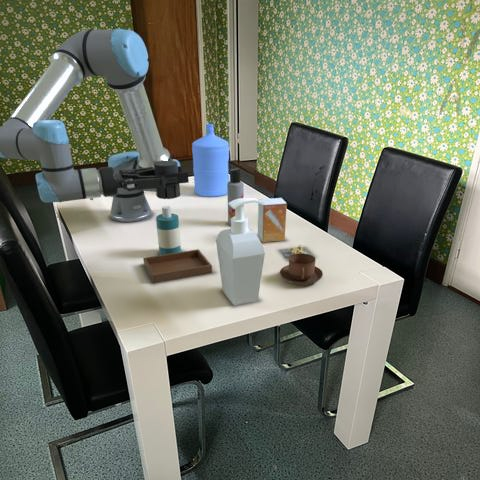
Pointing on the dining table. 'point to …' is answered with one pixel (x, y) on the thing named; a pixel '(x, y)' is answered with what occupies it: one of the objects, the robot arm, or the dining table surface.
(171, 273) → the tray
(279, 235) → the small box
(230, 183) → the lotion bottle
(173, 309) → the dining table surface
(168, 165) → the cap
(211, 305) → the dining table surface
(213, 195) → the water jug
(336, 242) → the dining table surface
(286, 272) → the cup and saucer
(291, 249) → the dice set
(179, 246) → the capped bottle
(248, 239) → the soap bottle
